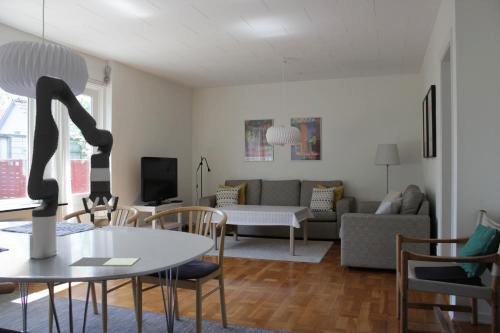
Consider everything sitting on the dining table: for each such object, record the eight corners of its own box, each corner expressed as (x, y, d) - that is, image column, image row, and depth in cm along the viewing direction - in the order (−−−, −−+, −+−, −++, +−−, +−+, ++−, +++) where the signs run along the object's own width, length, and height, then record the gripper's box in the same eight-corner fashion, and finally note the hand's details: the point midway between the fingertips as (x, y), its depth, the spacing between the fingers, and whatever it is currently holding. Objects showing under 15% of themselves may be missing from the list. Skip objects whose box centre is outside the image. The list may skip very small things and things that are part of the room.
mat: (68, 267, 157) (68, 265, 157) (83, 258, 171) (83, 256, 171) (131, 267, 157) (131, 265, 157) (141, 258, 171) (141, 257, 171)
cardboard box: (94, 227, 159) (94, 219, 159) (93, 224, 167) (93, 216, 167) (108, 226, 161) (108, 218, 161) (106, 223, 169) (106, 215, 169)
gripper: (81, 180, 158) (81, 225, 158) (120, 179, 163) (121, 222, 164) (80, 179, 165) (80, 223, 165) (118, 179, 170) (118, 220, 170)
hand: (100, 222), depth 164 cm, fingers closed on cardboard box, 5 cm apart
